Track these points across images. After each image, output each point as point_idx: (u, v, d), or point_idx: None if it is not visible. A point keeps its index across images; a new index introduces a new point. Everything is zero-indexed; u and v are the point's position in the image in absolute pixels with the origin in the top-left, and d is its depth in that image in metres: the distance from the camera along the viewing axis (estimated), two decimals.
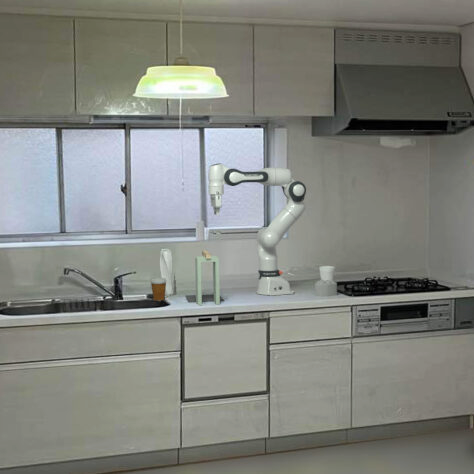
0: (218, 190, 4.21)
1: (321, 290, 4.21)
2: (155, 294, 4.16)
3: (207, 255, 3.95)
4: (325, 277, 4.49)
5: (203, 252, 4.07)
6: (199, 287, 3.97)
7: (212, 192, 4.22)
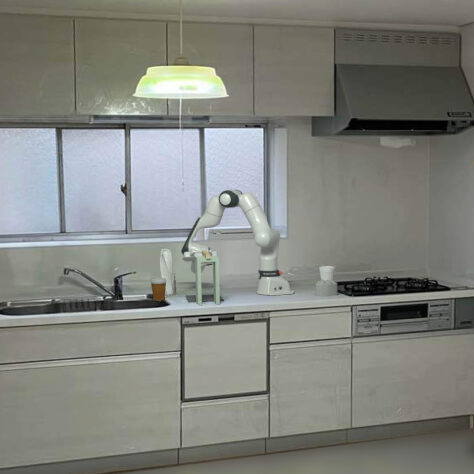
0: None
1: (322, 290, 4.21)
2: (155, 294, 4.16)
3: (207, 255, 3.95)
4: (325, 277, 4.49)
5: (203, 252, 4.07)
6: (199, 287, 3.97)
7: (194, 263, 4.36)
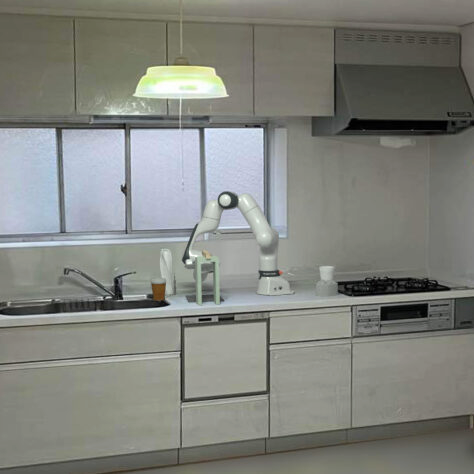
0: None
1: (323, 290, 4.21)
2: (155, 294, 4.16)
3: (207, 255, 3.95)
4: (325, 277, 4.50)
5: (203, 252, 4.07)
6: (199, 287, 3.97)
7: None
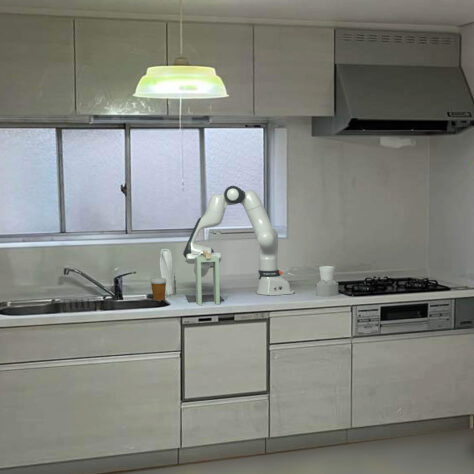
0: None
1: (323, 290, 4.21)
2: (155, 294, 4.16)
3: (207, 255, 3.95)
4: (325, 277, 4.49)
5: (203, 252, 4.07)
6: (199, 287, 3.97)
7: None
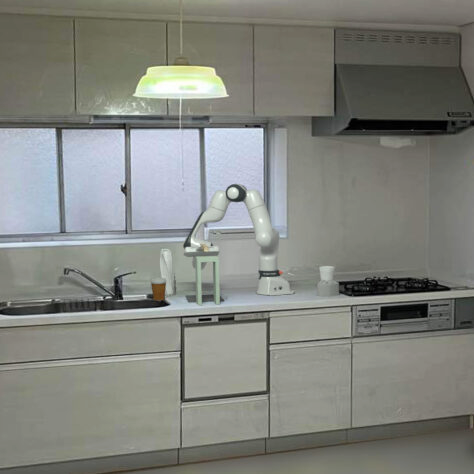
0: None
1: (324, 290, 4.21)
2: (155, 294, 4.16)
3: (205, 248, 4.03)
4: (325, 277, 4.49)
5: (201, 245, 4.14)
6: (199, 287, 3.97)
7: None
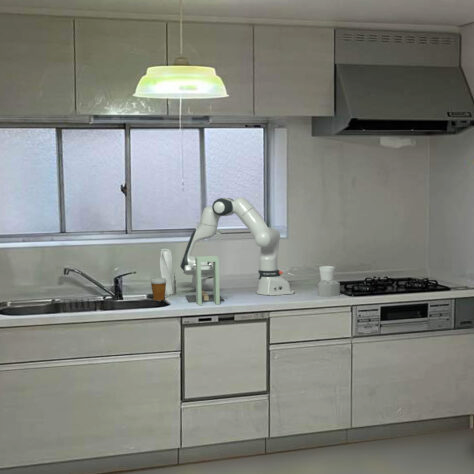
0: None
1: (325, 290, 4.20)
2: (155, 294, 4.16)
3: (205, 297, 4.10)
4: (325, 277, 4.49)
5: None
6: (199, 287, 3.97)
7: (195, 277, 4.34)
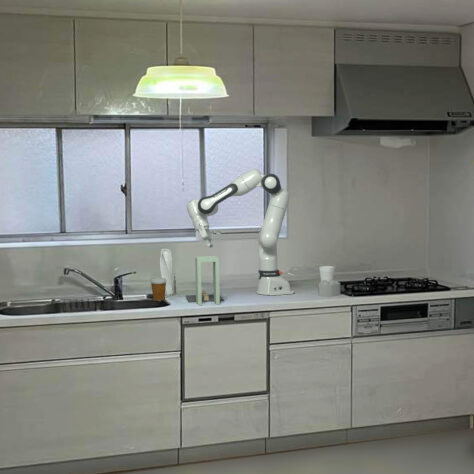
0: (201, 223, 4.29)
1: (326, 290, 4.20)
2: (155, 294, 4.16)
3: (205, 297, 4.10)
4: (325, 277, 4.50)
5: None
6: (199, 287, 3.97)
7: (196, 227, 4.30)
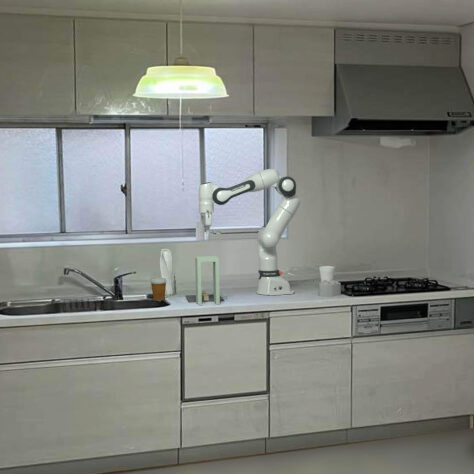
0: (208, 208, 4.27)
1: (327, 290, 4.20)
2: (155, 294, 4.16)
3: (205, 297, 4.10)
4: (325, 277, 4.49)
5: None
6: (199, 287, 3.97)
7: (202, 210, 4.28)
